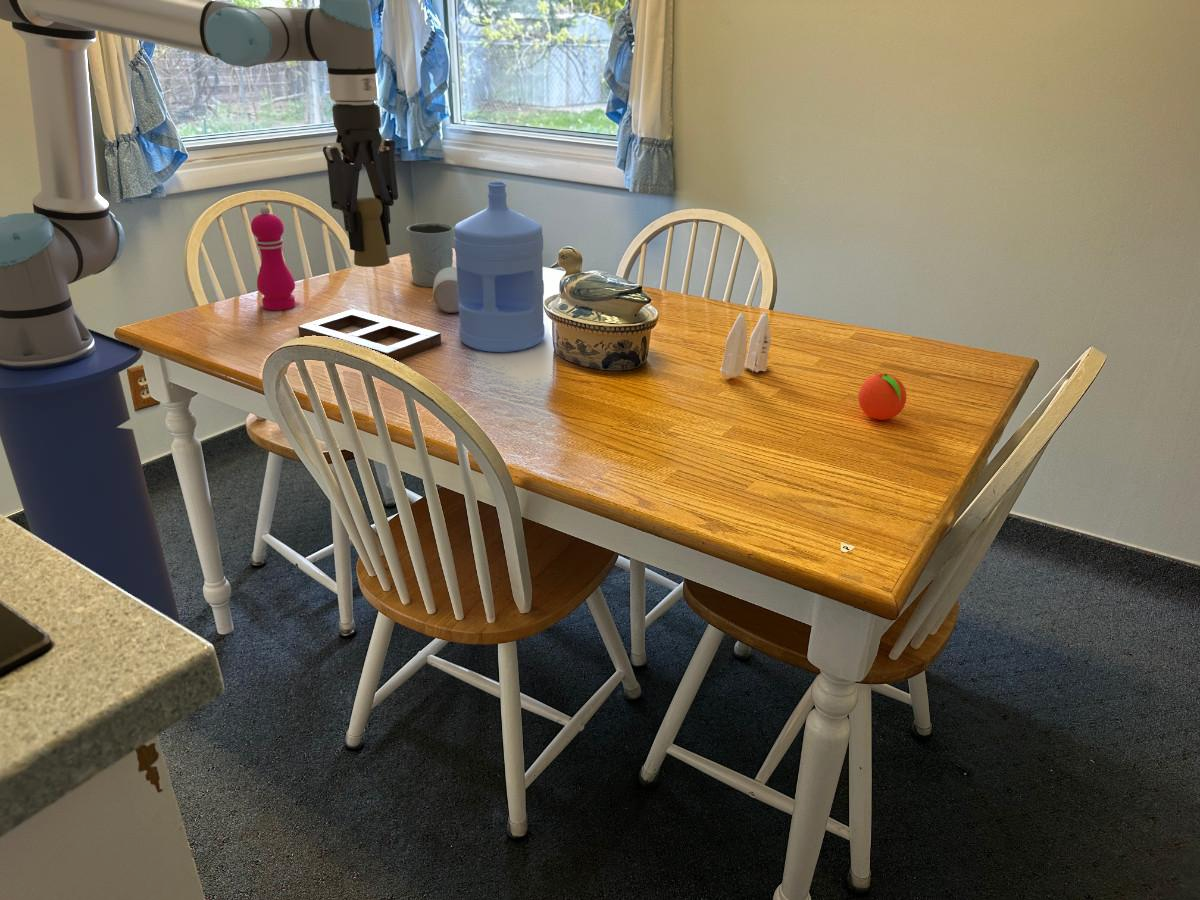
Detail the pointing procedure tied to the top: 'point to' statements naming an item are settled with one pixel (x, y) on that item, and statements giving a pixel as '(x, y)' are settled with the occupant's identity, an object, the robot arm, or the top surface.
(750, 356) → the shaker set
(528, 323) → the water jug
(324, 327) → the holder
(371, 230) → the olive peg shaker
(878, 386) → the clementine
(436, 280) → the ceramic mug
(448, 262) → the grey tapered cup
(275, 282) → the pepper mill
